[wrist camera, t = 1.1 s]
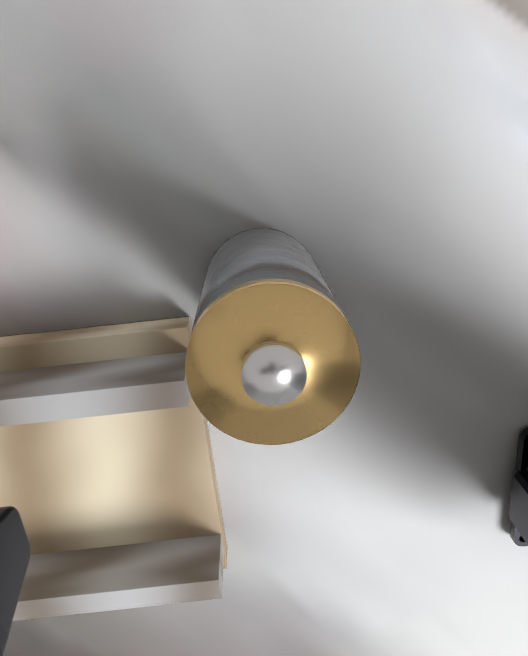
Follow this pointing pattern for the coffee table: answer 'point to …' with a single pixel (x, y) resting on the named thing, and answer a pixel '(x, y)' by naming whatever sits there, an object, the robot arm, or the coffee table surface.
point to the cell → (269, 343)
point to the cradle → (109, 469)
